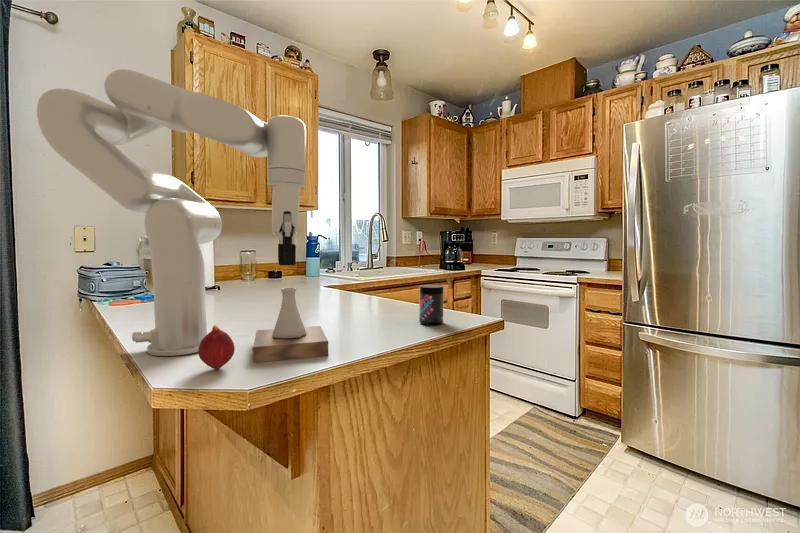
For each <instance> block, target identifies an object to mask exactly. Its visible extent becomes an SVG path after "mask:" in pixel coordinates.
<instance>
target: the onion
mask: <svg viewBox="0 0 800 533" xmlns="http://www.w3.org/2000/svg"><path fill="white" fill-rule="evenodd" d="M235 349H236V348H235V343H234V340H233V339H232V338H231V336H230V334H228V333H227V332H226V331H223V330H222V329H220V328H219V327H218V325H217V324H214V325H213V326H212V327H211V330H210V332H207V335H206V336H205V337H204V338H203V339H202V341H201V343H200V345H199V351H198V352H197V354H198V356H199V359H200V360H201V362H203V363H204V364H205V365H206V366H208V367H210V368H211V369H213V370H215V371H217V370H219V369H221V368H222V367H223V366H226V364H227V363H228V362H230V360H231V359H232V358H233V356H234V354H235Z"/></svg>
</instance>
